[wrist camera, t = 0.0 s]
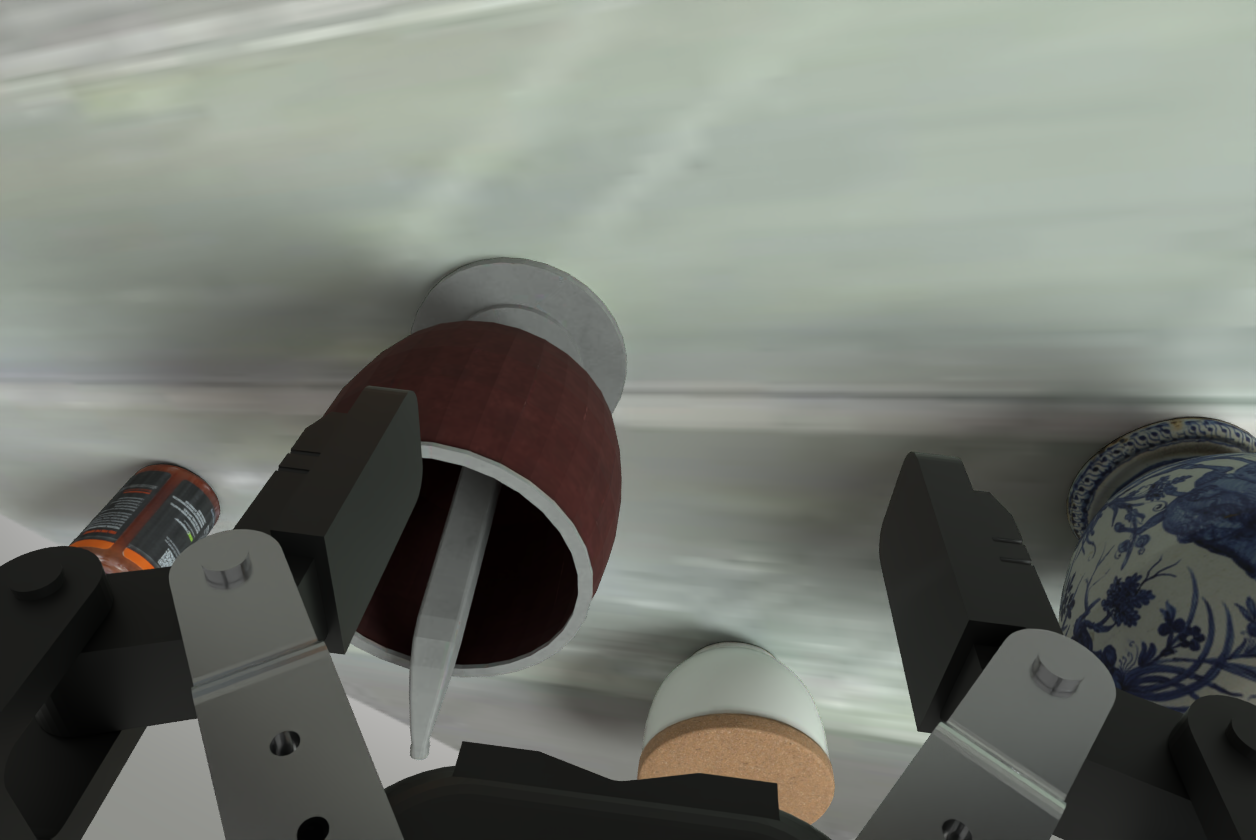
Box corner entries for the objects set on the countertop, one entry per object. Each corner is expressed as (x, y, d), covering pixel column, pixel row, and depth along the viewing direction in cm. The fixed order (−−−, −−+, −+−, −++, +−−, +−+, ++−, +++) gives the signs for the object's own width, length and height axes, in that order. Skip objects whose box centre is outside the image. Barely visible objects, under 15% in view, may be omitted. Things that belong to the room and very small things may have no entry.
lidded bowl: (851, 645, 58) (875, 792, 49) (778, 744, 65) (787, 889, 56) (681, 594, 57) (673, 735, 48) (625, 701, 64) (609, 842, 55)
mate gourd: (394, 224, 43) (194, 452, 27) (657, 264, 43) (617, 518, 27) (404, 457, 52) (258, 736, 36) (622, 491, 52) (576, 787, 36)
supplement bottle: (118, 484, 56) (-3, 610, 47) (169, 445, 53) (53, 570, 44) (190, 540, 58) (89, 671, 49) (242, 505, 56) (146, 636, 47)
